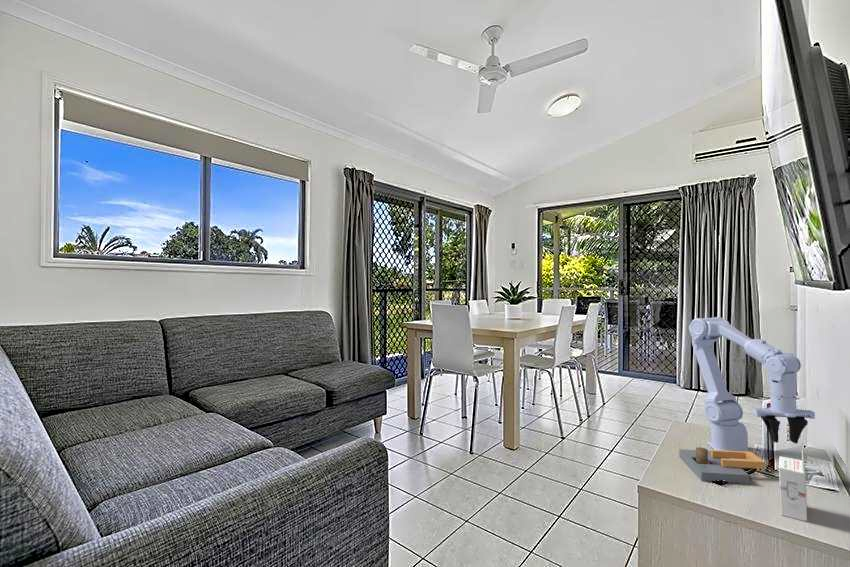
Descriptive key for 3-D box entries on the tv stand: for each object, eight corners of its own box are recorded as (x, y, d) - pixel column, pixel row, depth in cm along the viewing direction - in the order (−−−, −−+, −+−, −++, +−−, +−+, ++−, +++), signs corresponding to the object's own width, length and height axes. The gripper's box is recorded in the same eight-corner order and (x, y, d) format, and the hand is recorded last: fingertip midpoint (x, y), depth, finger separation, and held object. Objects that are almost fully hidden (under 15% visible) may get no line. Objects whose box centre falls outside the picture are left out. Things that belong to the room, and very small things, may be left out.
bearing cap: (751, 458, 125) (750, 451, 125) (765, 469, 118) (765, 462, 118) (711, 456, 127) (711, 449, 127) (722, 466, 120) (722, 459, 120)
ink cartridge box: (779, 500, 107) (778, 443, 106) (805, 506, 103) (804, 448, 103) (779, 515, 100) (778, 455, 100) (807, 522, 97) (806, 460, 97)
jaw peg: (695, 466, 127) (694, 446, 127) (706, 467, 126) (706, 448, 125) (697, 470, 124) (696, 450, 124) (709, 472, 123) (708, 452, 123)
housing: (721, 459, 131) (720, 451, 131) (749, 484, 115) (749, 475, 115) (679, 457, 133) (679, 449, 133) (701, 480, 118) (701, 472, 118)
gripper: (762, 398, 118) (763, 445, 118) (822, 400, 115) (823, 448, 115) (748, 391, 125) (749, 436, 125) (804, 393, 121) (805, 438, 122)
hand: (784, 441), depth 120 cm, fingers open, 4 cm apart
